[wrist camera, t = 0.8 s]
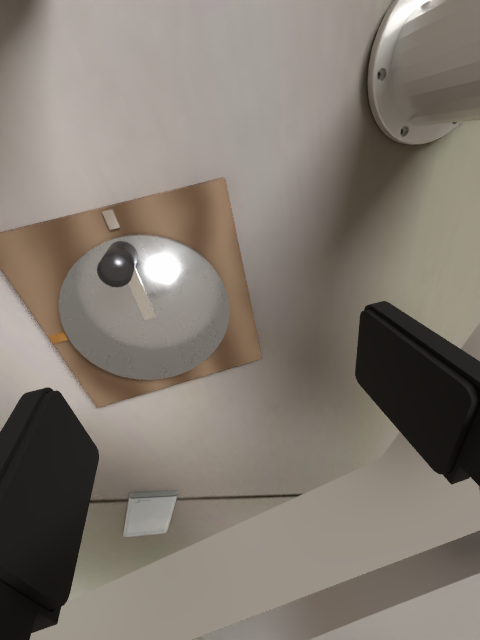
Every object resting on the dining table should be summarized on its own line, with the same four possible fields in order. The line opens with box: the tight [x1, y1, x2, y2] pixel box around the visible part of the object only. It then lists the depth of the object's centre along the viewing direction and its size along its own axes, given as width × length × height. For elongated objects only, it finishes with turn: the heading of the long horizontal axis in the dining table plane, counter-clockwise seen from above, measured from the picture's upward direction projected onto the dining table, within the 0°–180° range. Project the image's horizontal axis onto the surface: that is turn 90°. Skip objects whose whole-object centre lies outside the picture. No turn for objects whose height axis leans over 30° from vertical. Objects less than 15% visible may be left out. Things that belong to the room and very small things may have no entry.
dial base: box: [0, 178, 262, 408], centre depth 32 cm, size 22×22×2 cm
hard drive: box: [123, 490, 178, 537], centre depth 52 cm, size 2×8×12 cm
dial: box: [59, 233, 230, 380], centre depth 29 cm, size 17×17×6 cm
